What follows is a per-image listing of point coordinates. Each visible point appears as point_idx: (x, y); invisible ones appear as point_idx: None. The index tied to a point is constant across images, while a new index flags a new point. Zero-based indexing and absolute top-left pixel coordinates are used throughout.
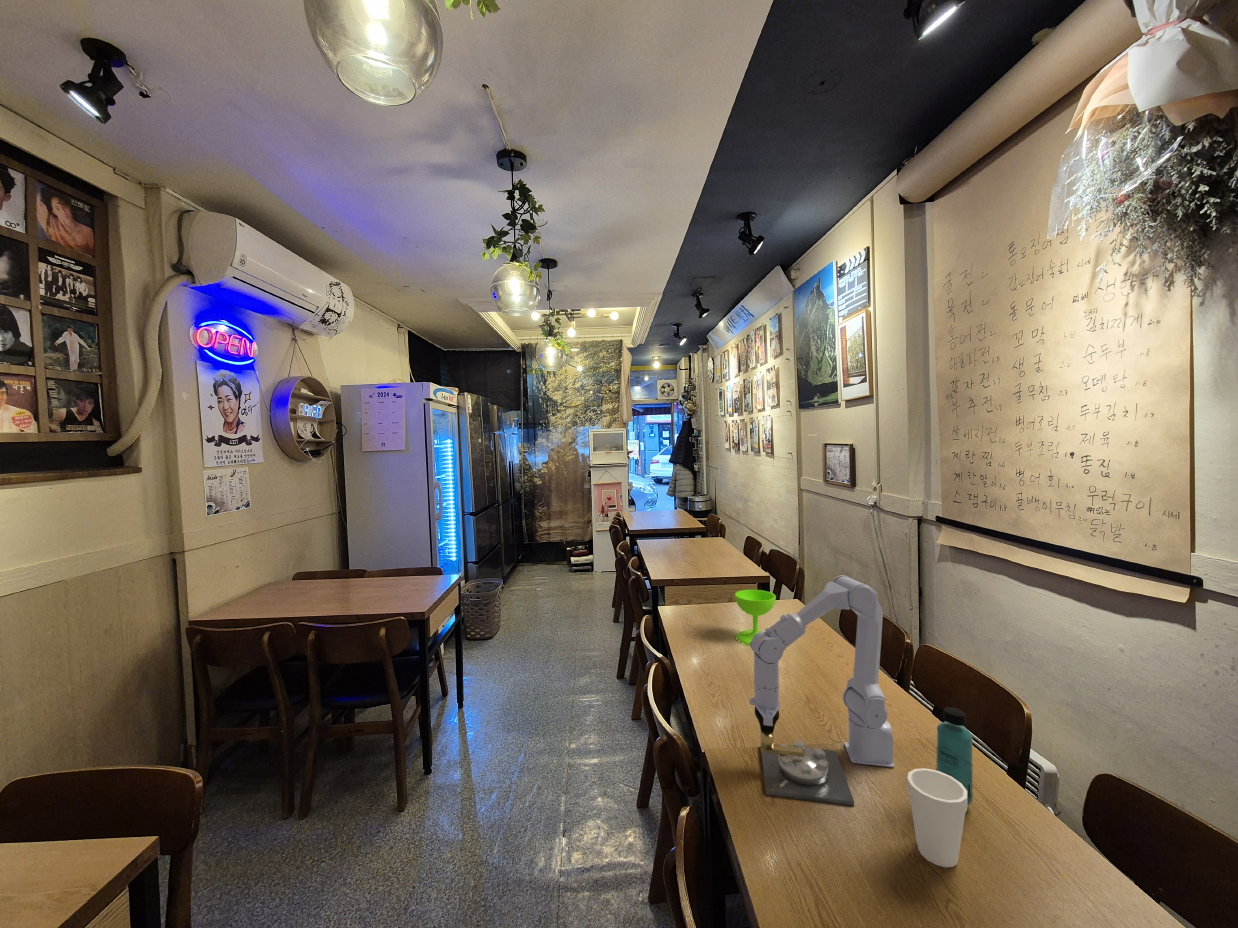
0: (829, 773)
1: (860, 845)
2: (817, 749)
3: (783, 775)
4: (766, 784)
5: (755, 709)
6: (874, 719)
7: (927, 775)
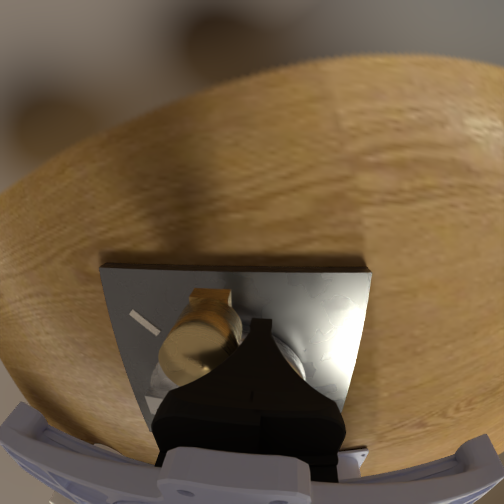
0: None
1: (69, 393)
2: None
3: None
4: (123, 271)
5: (233, 423)
6: None
7: None
